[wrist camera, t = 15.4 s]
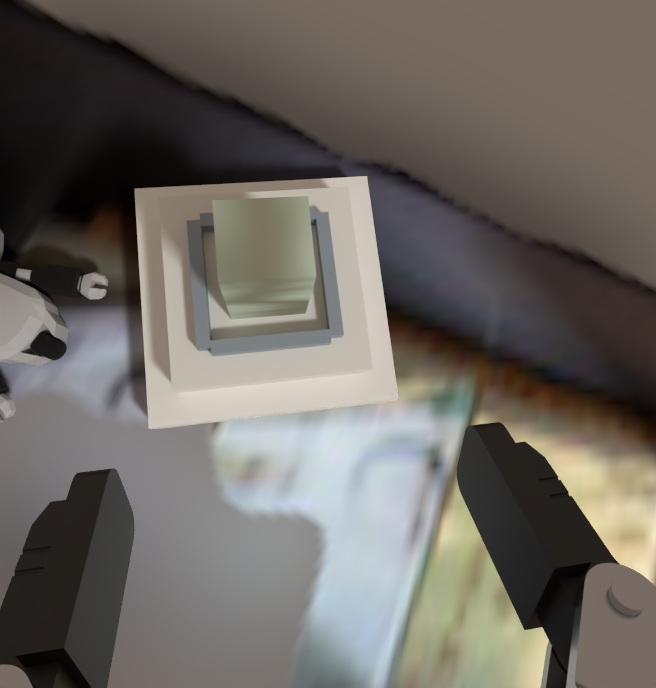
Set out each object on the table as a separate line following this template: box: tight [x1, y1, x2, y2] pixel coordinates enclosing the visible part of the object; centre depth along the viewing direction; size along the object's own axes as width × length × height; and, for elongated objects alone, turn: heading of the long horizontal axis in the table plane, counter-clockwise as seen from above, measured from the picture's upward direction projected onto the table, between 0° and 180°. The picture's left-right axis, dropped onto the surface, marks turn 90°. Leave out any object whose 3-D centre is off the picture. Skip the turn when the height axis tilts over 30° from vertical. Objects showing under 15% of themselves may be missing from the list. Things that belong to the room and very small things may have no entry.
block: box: [212, 196, 316, 319], centre depth 26 cm, size 4×4×8 cm
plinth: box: [134, 176, 398, 429], centre depth 32 cm, size 16×16×6 cm
